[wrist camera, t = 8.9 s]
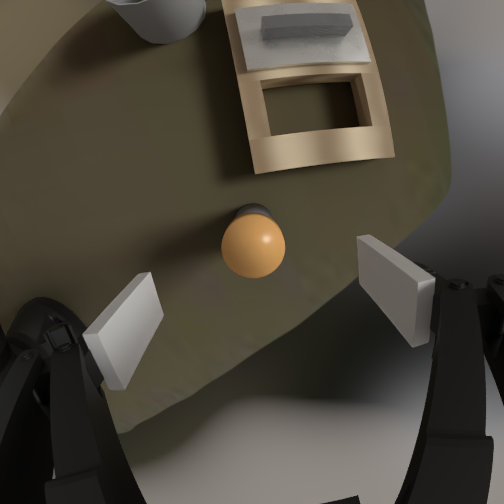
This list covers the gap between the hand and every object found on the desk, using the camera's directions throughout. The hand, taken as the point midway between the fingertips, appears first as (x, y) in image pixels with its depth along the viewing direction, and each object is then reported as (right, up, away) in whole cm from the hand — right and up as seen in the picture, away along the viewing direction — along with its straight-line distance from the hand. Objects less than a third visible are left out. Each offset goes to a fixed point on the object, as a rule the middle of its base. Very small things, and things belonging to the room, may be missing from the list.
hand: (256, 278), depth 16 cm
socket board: (+5, +20, +11) cm, 23 cm away
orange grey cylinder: (0, +5, +15) cm, 16 cm away
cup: (-9, +28, +9) cm, 31 cm away
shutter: (+5, +22, +6) cm, 24 cm away
